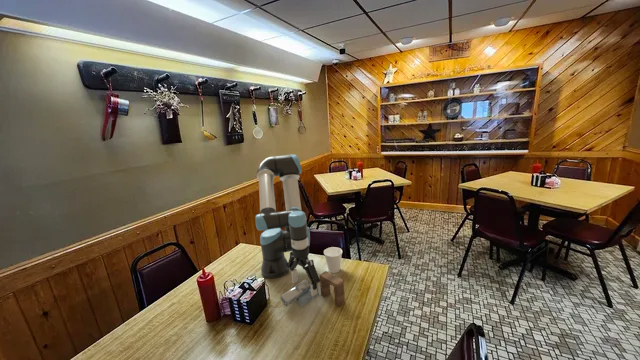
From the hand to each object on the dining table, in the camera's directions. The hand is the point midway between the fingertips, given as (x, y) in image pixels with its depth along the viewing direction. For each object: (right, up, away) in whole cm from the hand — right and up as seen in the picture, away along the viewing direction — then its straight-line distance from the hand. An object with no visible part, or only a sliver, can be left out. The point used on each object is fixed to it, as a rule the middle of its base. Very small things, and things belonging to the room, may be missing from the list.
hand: (304, 288), depth 116 cm
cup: (+15, +1, +20) cm, 25 cm away
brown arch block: (+13, -4, -2) cm, 14 cm away
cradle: (0, -4, +1) cm, 4 cm away
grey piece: (-3, 0, -3) cm, 5 cm away
